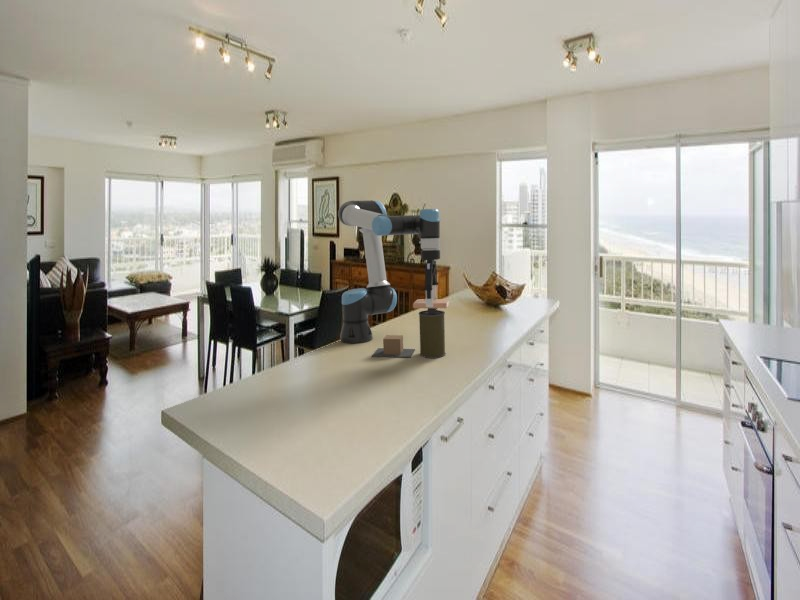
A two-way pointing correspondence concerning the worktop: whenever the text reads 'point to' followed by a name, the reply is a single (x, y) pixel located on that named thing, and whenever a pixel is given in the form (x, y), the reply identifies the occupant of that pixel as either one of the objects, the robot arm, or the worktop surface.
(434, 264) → the robot arm
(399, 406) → the worktop surface
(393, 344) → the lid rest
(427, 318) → the canister
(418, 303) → the lid
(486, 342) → the worktop surface
